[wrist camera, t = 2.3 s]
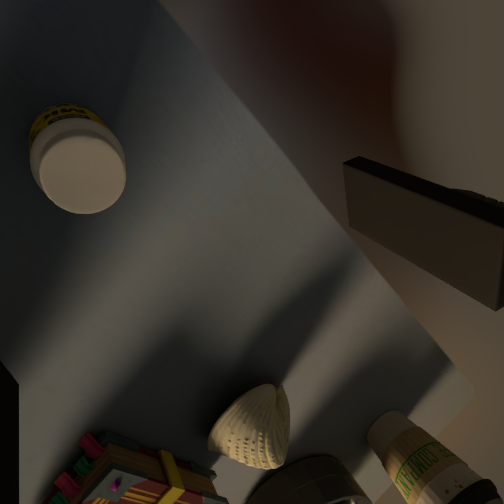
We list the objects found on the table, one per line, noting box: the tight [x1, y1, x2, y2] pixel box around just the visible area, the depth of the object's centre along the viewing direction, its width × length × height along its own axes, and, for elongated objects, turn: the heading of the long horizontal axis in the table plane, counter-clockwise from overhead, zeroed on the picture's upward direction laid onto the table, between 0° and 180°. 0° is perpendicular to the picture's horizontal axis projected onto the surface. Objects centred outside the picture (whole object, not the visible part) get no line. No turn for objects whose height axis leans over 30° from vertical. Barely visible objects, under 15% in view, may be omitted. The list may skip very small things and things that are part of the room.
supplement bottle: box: [29, 103, 126, 214], centre depth 24 cm, size 5×5×8 cm
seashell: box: [207, 384, 290, 470], centre depth 43 cm, size 8×8×8 cm
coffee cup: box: [367, 410, 503, 504], centre depth 54 cm, size 10×10×15 cm
